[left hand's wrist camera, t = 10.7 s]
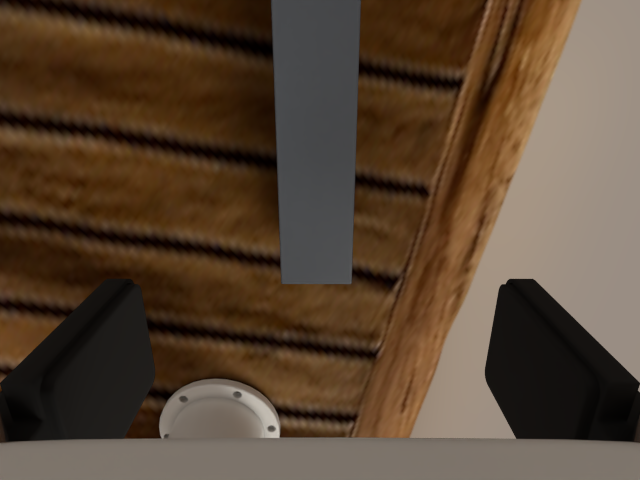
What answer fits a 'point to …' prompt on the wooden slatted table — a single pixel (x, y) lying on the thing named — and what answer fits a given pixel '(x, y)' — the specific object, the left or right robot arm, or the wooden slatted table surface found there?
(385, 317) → the wooden slatted table surface
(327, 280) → the post
